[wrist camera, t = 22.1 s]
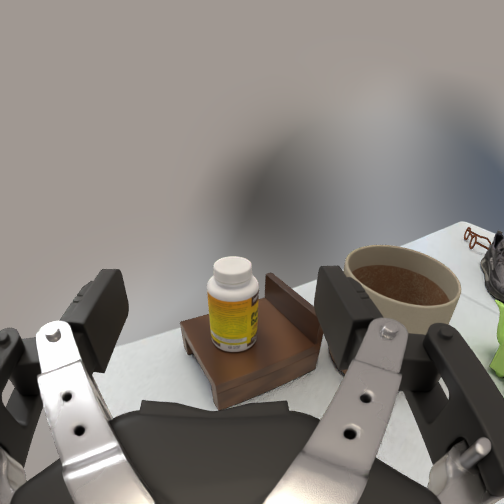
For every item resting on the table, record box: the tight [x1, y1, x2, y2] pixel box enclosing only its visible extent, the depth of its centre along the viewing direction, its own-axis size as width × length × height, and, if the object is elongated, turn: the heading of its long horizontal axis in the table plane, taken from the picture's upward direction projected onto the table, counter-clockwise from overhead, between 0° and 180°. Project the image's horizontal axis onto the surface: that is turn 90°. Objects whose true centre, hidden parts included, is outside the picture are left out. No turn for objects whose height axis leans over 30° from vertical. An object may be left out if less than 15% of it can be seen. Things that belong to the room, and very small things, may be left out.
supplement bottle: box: [207, 256, 259, 352], centre depth 32 cm, size 6×6×10 cm
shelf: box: [180, 273, 323, 410], centre depth 35 cm, size 14×12×9 cm
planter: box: [329, 245, 461, 374], centre depth 35 cm, size 16×16×14 cm
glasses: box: [464, 227, 491, 250], centre depth 73 cm, size 13×13×5 cm
